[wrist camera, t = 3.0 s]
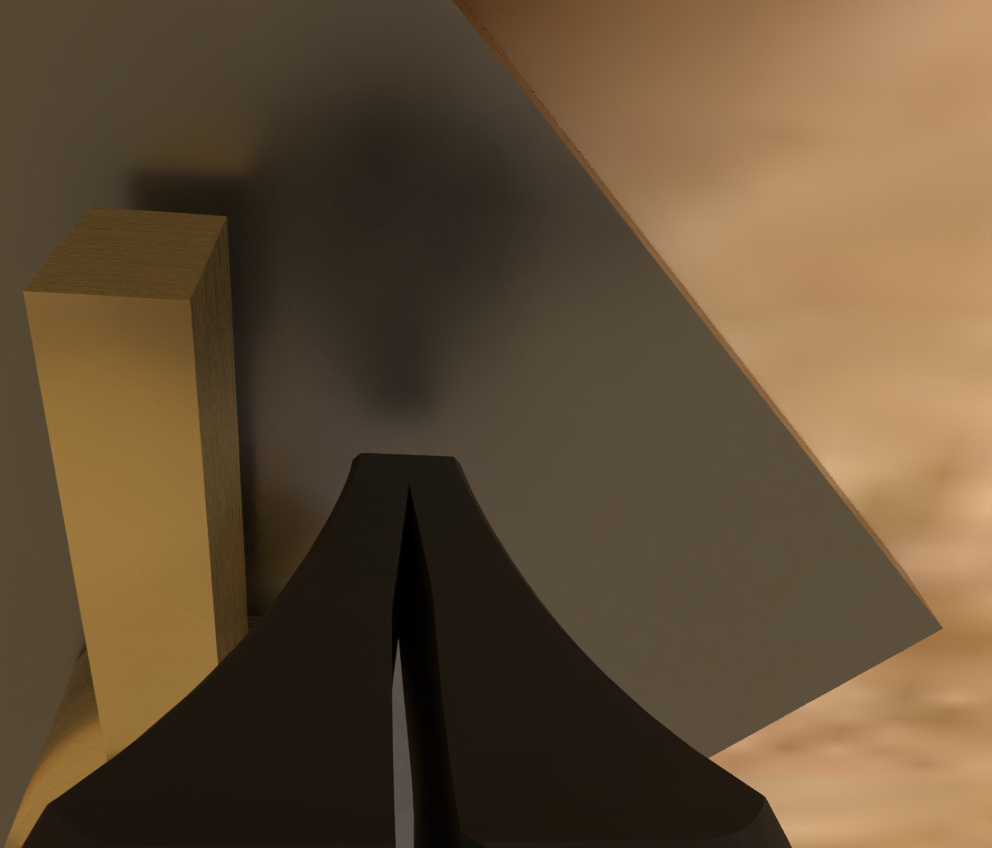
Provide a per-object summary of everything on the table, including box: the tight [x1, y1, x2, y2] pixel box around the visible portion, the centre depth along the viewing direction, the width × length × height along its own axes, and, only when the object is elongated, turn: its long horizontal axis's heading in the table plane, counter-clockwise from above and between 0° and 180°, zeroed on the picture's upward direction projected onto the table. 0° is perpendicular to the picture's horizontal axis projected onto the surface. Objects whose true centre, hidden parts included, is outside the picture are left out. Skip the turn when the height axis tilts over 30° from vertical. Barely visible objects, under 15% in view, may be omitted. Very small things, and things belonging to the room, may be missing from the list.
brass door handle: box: [4, 207, 261, 848], centre depth 14 cm, size 12×5×3 cm, turn 174°
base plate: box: [0, 0, 943, 848], centre depth 16 cm, size 20×20×3 cm
